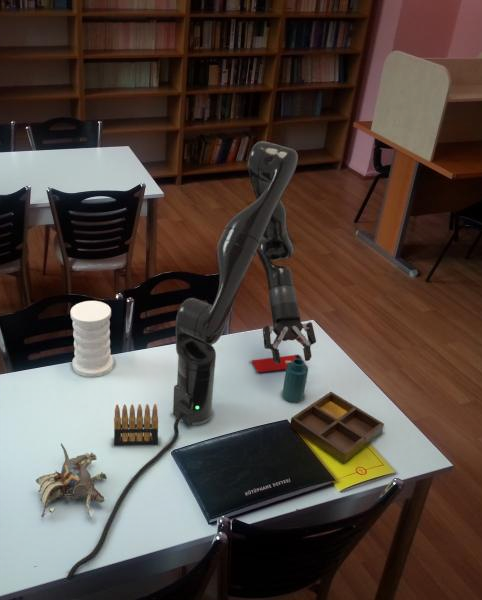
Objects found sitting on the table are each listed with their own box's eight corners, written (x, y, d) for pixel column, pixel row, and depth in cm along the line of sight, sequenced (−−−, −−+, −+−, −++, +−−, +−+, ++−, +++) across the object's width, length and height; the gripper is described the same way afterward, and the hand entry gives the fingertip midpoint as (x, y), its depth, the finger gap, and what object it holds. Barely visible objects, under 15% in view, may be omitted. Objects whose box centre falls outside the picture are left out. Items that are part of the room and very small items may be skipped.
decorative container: (80, 350, 181) (77, 297, 172) (118, 355, 180) (117, 303, 171) (66, 373, 171) (62, 319, 162) (106, 379, 170) (105, 324, 161)
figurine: (127, 483, 131) (59, 527, 120) (126, 501, 134) (60, 545, 124) (73, 430, 142) (7, 466, 132) (74, 448, 146) (9, 484, 135)
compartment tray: (343, 463, 147) (345, 454, 146) (289, 426, 157) (291, 417, 156) (381, 432, 157) (384, 423, 156) (329, 400, 168) (330, 391, 166)
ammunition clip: (113, 445, 148) (112, 407, 142) (114, 440, 149) (113, 401, 143) (158, 444, 149) (159, 406, 143) (158, 439, 150) (158, 401, 144)
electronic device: (258, 373, 176) (306, 367, 180) (258, 371, 176) (306, 365, 180) (251, 361, 181) (298, 355, 185) (251, 360, 181) (298, 354, 185)
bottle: (294, 405, 165) (299, 371, 159) (278, 395, 168) (283, 361, 163) (307, 396, 168) (313, 362, 163) (291, 386, 172) (296, 353, 166)
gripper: (263, 302, 165) (272, 362, 161) (312, 299, 168) (322, 357, 164) (255, 309, 172) (264, 366, 168) (303, 305, 175) (312, 361, 171)
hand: (293, 362), depth 166 cm, fingers open, 8 cm apart
